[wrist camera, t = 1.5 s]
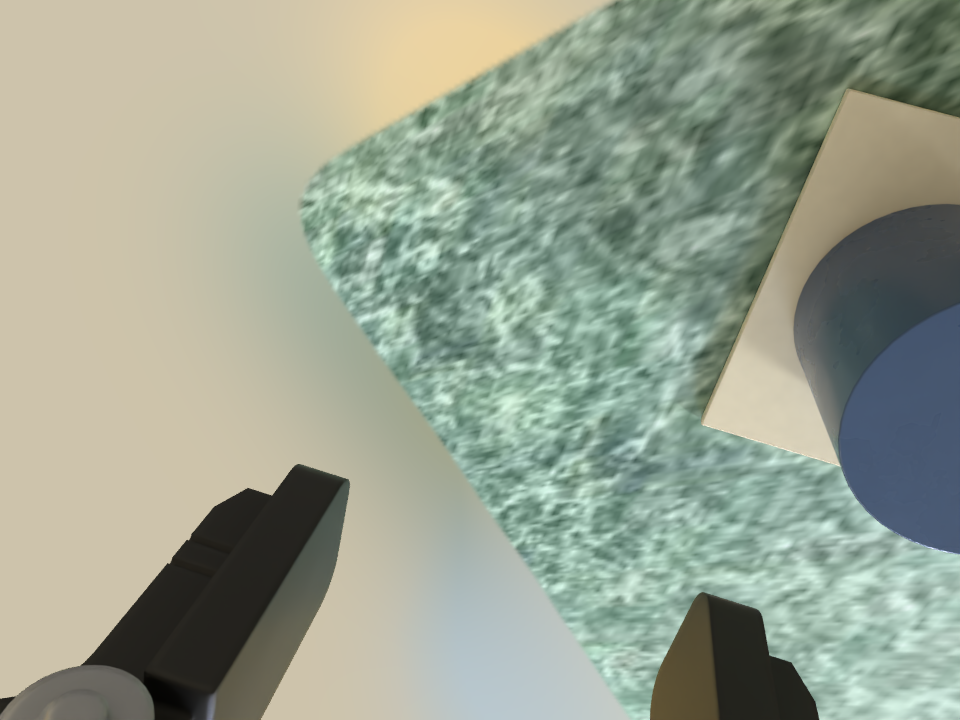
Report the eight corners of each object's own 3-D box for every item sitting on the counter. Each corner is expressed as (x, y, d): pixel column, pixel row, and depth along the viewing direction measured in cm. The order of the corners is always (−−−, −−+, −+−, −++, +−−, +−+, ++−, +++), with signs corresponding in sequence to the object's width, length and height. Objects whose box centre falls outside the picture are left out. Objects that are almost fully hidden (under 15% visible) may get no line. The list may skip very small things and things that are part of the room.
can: (856, 174, 23) (931, 245, 17) (1111, 243, 22) (1285, 343, 16) (756, 383, 27) (788, 505, 20) (974, 448, 26) (1074, 592, 20)
